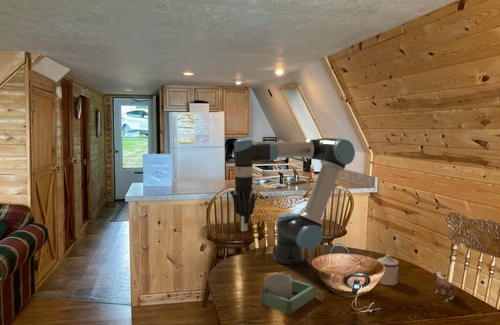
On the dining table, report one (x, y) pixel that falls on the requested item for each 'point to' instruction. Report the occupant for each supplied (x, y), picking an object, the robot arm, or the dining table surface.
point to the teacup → (279, 284)
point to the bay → (292, 304)
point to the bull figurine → (444, 286)
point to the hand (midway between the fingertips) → (244, 230)
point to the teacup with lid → (389, 270)
